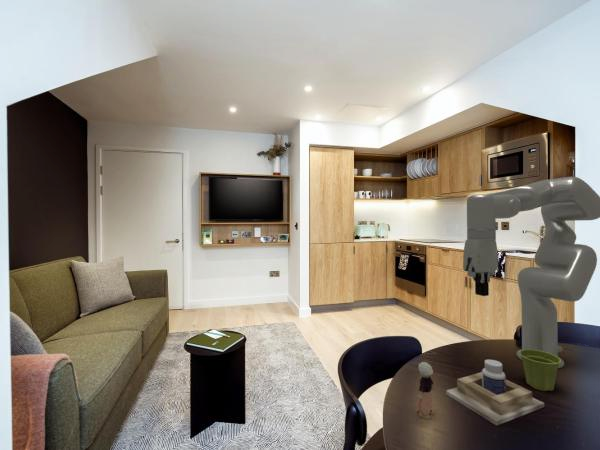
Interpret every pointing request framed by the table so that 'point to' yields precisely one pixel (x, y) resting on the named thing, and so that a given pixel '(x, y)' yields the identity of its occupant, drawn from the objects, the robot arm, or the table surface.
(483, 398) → the frame
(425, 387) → the grandmother figurine
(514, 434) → the table surface
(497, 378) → the pill bottle
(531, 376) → the plant pot
